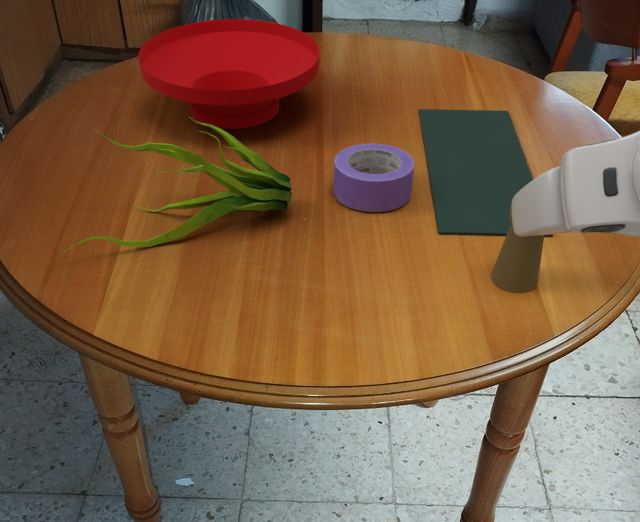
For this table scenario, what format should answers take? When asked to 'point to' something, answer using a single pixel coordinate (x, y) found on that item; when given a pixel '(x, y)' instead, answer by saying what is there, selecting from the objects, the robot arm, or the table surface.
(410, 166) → the tape roll
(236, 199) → the decorative plant
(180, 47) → the bowl
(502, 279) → the olive pawn piece
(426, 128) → the mat
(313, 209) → the table surface
